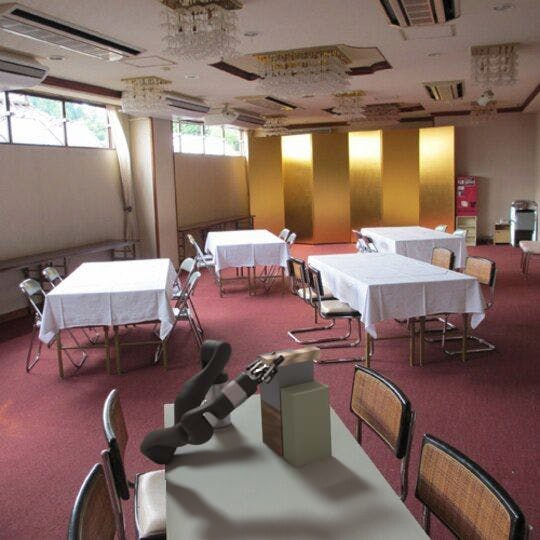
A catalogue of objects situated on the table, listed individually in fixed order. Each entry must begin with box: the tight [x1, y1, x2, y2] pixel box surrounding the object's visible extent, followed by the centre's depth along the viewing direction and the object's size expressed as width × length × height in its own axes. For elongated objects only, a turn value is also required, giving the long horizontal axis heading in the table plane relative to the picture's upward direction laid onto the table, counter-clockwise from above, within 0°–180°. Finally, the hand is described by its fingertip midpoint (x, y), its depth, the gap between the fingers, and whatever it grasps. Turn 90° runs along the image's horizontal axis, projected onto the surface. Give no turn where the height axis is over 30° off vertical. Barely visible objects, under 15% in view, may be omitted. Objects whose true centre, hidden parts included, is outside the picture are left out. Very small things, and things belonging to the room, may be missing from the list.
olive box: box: [281, 379, 333, 467], centre depth 190 cm, size 14×8×24 cm, turn 119°
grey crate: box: [257, 348, 315, 411], centre depth 199 cm, size 14×14×16 cm
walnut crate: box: [260, 399, 284, 457], centre depth 201 cm, size 14×14×16 cm
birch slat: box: [261, 346, 322, 369], centre depth 184 cm, size 20×4×3 cm, turn 119°
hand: (279, 355), depth 182 cm, fingers closed on birch slat, 4 cm apart
